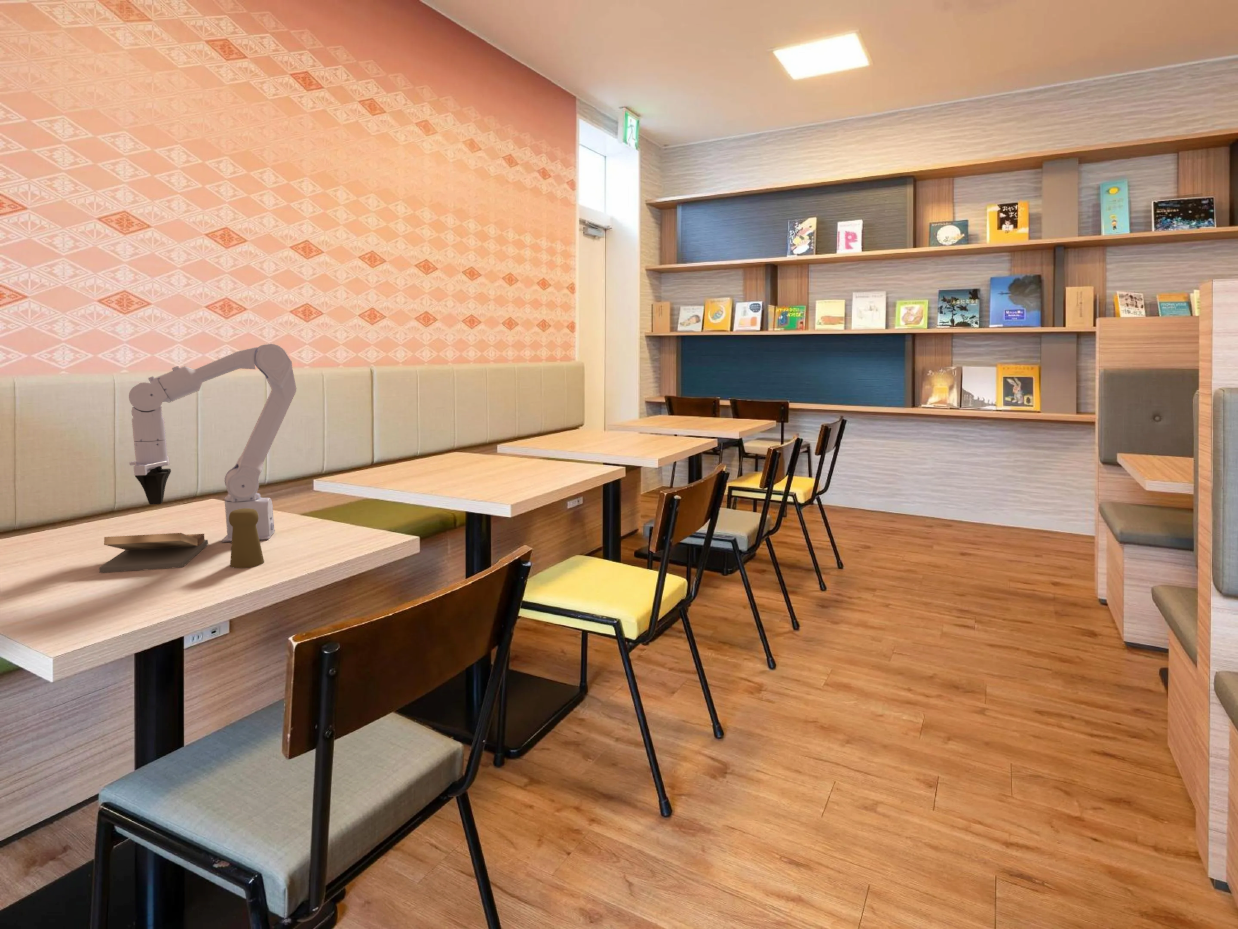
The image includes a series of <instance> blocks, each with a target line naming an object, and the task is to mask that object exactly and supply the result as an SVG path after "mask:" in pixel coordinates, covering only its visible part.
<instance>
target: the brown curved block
mask: <svg viewBox="0 0 1238 929" xmlns="http://www.w3.org/2000/svg"><path fill="white" fill-rule="evenodd" d="M187 535H188V536H191V537H194V538H197V539H198V546H199V545H200V544H201V543H202V542H203V541H204V540H206V539H205V533H194V534H190V533H189V534H187Z"/></svg>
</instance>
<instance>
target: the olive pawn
mask: <svg viewBox="0 0 1238 929" xmlns="http://www.w3.org/2000/svg"><path fill="white" fill-rule="evenodd" d="M258 519H259V517H258V512H257V511H256V510H254V509H250V508H242V509H237V510H234V511H232V512H231V513H230V515H229V522H230V525H231V526H232V527H233V531H232V541H231V547H230V548H231V549H230V563H229V566H230V567H231V568H233V567H234V569H246V568H247V569H248V568H254V567H257V566H261V565H263V564H265V560H264V556H263V550H262V546H261V545H262V544H261V543H260V540H259V536H258V532H257V527H256V524H257V522H258Z"/></svg>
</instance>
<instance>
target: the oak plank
mask: <svg viewBox="0 0 1238 929" xmlns="http://www.w3.org/2000/svg"><path fill="white" fill-rule="evenodd" d="M103 546H107V547H112V548H115V549H121V550H123V551H125V550H137V549H154V548H171V547H187V546H198V539H197V538H194V537H191V536H188V534H184V533H182V532H172V533H169V532H168V533H153V534H135V535H134V534H133V535H120V536H119V535H118V536H117V535H116V536H104V537H103Z"/></svg>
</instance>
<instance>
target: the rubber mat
mask: <svg viewBox="0 0 1238 929" xmlns="http://www.w3.org/2000/svg"><path fill="white" fill-rule="evenodd" d="M208 545H209V539H205V540H204V541H203V542H202V543H201V544H200V545H199V546H187V547H171V548H154V549H137V550H123V551H122V552H120V553H119V554H117V555H116V556H114V557H112V558H111V559H110V560H108V561H107V562H105V563H104V564H102V565H101V566H99V567H98V570H99V573H100V572H103V573H113V571H118V572H125V571H124V570H133V571H144V570H143V569H148V570H158V569H157V568H163V569H173V568H172V567H178V568H183V567H185V566H186V565H187V564H188V563H189V562H191V561H192V559H193V558H195V557H196V556H197V555H198V554H199V553H200V552H201V551H202V550H204V548H206V547H207V546H208ZM205 546H206V547H205ZM195 555H196V556H195ZM194 556H195V557H194ZM185 564H186V565H185ZM184 565H185V566H184Z"/></svg>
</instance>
